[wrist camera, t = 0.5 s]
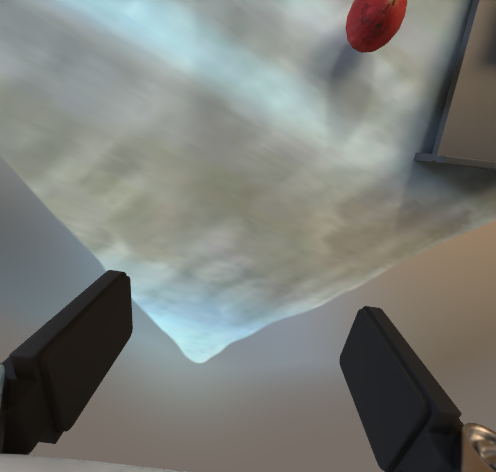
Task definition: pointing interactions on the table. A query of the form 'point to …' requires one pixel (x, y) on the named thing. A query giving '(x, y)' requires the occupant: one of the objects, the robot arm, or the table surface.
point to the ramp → (471, 97)
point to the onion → (374, 23)
